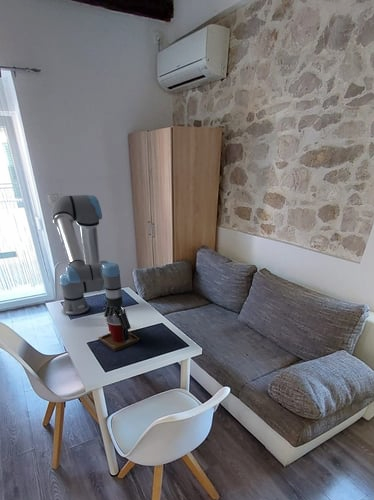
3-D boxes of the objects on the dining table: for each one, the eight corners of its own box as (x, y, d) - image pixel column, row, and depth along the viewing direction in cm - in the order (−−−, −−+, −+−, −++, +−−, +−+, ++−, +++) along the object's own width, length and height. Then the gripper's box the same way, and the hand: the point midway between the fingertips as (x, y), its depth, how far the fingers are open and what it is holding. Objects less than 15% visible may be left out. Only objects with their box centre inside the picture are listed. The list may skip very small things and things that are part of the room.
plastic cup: (124, 345, 158) (122, 324, 152) (105, 343, 160) (101, 322, 153) (132, 335, 167) (130, 315, 160) (113, 333, 169) (110, 313, 162)
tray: (99, 340, 164) (98, 337, 163) (123, 330, 173) (123, 328, 172) (115, 351, 155) (114, 348, 154) (139, 341, 164) (139, 338, 163)
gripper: (135, 302, 145) (138, 341, 157) (107, 287, 160) (111, 324, 171) (122, 306, 141) (126, 346, 152) (93, 291, 155) (99, 329, 167)
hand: (118, 335), depth 162 cm, fingers open, 13 cm apart
